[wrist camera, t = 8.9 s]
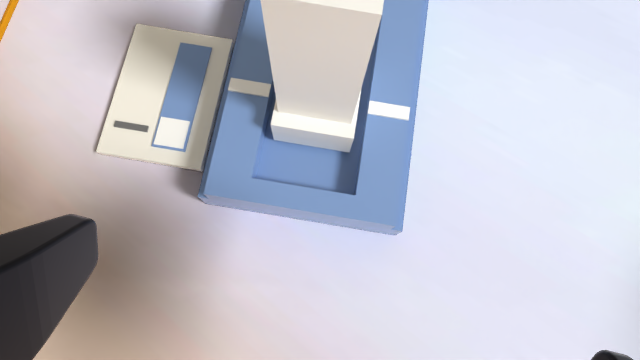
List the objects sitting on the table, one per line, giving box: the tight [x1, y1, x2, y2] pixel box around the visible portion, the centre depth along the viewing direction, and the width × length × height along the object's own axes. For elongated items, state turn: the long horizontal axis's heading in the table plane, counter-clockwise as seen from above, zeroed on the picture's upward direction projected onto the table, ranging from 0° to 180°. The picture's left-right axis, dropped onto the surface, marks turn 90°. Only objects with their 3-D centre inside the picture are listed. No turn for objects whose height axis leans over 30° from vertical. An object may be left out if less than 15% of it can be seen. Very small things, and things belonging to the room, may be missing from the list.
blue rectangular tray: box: [198, 0, 429, 235], centre depth 20 cm, size 15×9×3 cm, turn 171°
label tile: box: [96, 24, 234, 172], centre depth 20 cm, size 7×5×1 cm
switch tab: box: [260, 0, 384, 152], centre depth 15 cm, size 4×3×9 cm
